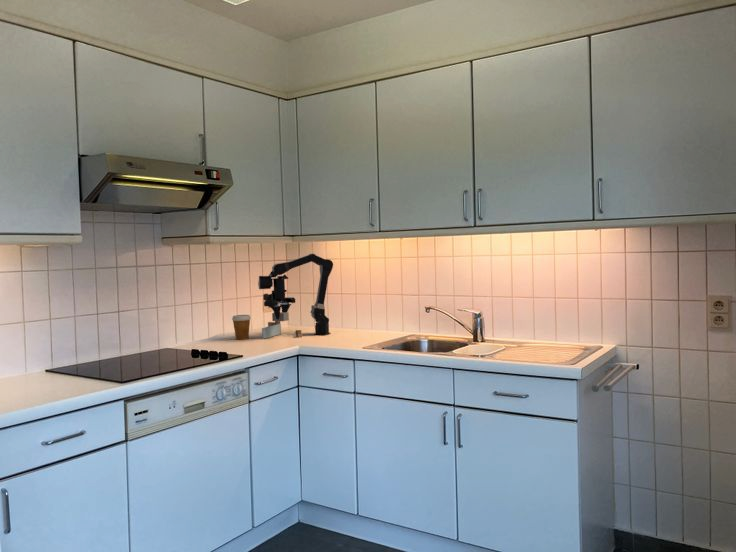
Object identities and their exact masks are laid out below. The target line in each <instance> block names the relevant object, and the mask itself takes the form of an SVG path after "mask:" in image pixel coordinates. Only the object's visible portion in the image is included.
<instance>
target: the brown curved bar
mask: <svg viewBox="0 0 736 552" xmlns="http://www.w3.org/2000/svg"><path fill="white" fill-rule="evenodd" d="M277 324H281V321H267V327H269V326H273V325H277ZM302 336H303V335H302V330H301V329H298V330H296V329H295V337H296V338H302Z"/></svg>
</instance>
